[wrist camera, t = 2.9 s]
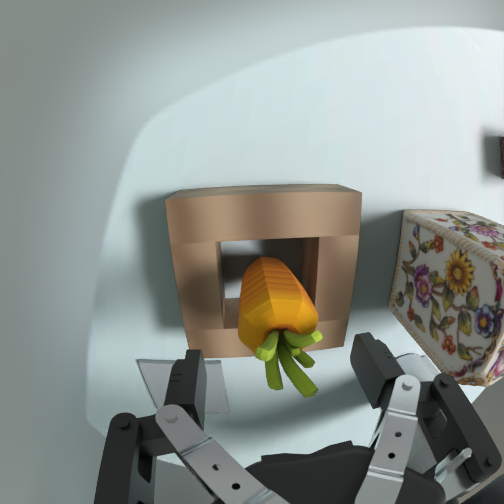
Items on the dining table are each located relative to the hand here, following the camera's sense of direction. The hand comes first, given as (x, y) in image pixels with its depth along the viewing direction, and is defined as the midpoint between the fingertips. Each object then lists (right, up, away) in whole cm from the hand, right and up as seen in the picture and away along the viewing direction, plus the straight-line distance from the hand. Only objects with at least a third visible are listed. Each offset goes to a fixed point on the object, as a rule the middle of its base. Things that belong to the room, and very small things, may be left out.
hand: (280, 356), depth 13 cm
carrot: (0, +5, +12) cm, 13 cm away
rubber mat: (-10, -12, +18) cm, 24 cm away
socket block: (0, +4, +12) cm, 13 cm away
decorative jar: (+20, +5, +13) cm, 24 cm away
